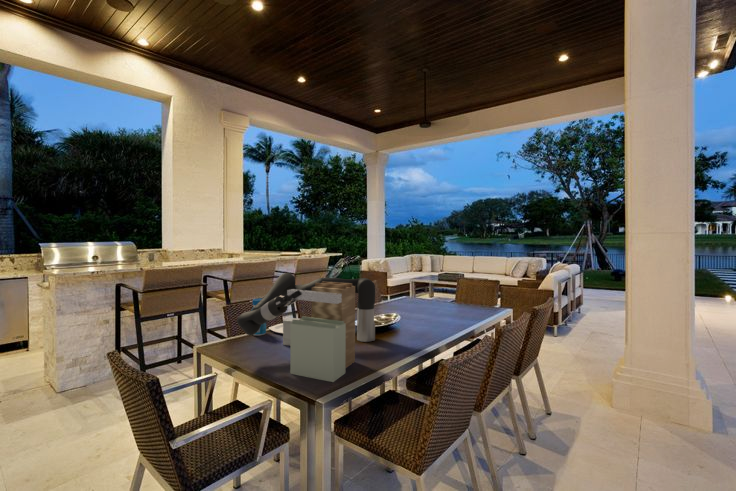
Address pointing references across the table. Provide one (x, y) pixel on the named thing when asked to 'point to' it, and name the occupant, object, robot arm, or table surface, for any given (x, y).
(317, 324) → the sage dock
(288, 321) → the supplement box
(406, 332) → the table surface
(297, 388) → the table surface
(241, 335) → the table surface
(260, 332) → the beverage bottle
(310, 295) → the steel bar
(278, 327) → the plate
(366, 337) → the robot arm
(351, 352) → the oak stand
